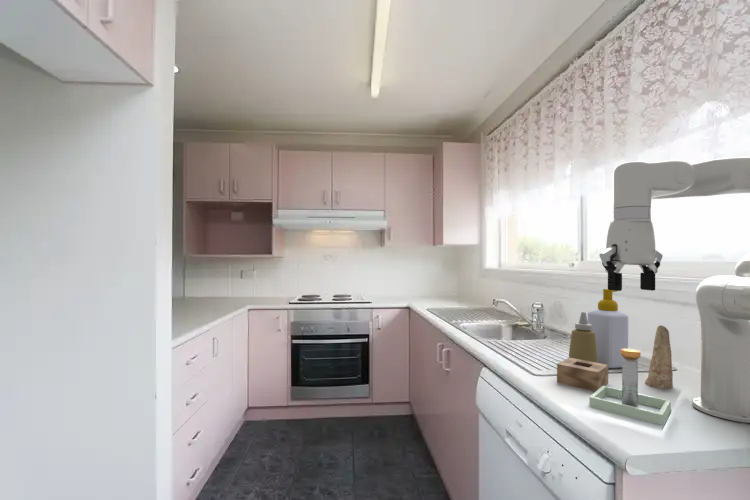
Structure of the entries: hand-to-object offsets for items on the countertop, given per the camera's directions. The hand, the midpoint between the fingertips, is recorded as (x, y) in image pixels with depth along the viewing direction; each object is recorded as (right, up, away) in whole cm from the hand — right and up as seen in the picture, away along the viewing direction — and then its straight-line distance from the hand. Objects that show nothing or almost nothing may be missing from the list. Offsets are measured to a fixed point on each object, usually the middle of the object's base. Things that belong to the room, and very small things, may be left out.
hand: (631, 290), depth 87 cm
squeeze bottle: (+7, -29, +33) cm, 44 cm away
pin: (-1, -27, 0) cm, 27 cm away
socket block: (-2, -28, +17) cm, 33 cm away
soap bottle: (+18, -29, +39) cm, 52 cm away
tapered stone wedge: (+18, -29, +16) cm, 38 cm away
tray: (-1, -28, 0) cm, 28 cm away
